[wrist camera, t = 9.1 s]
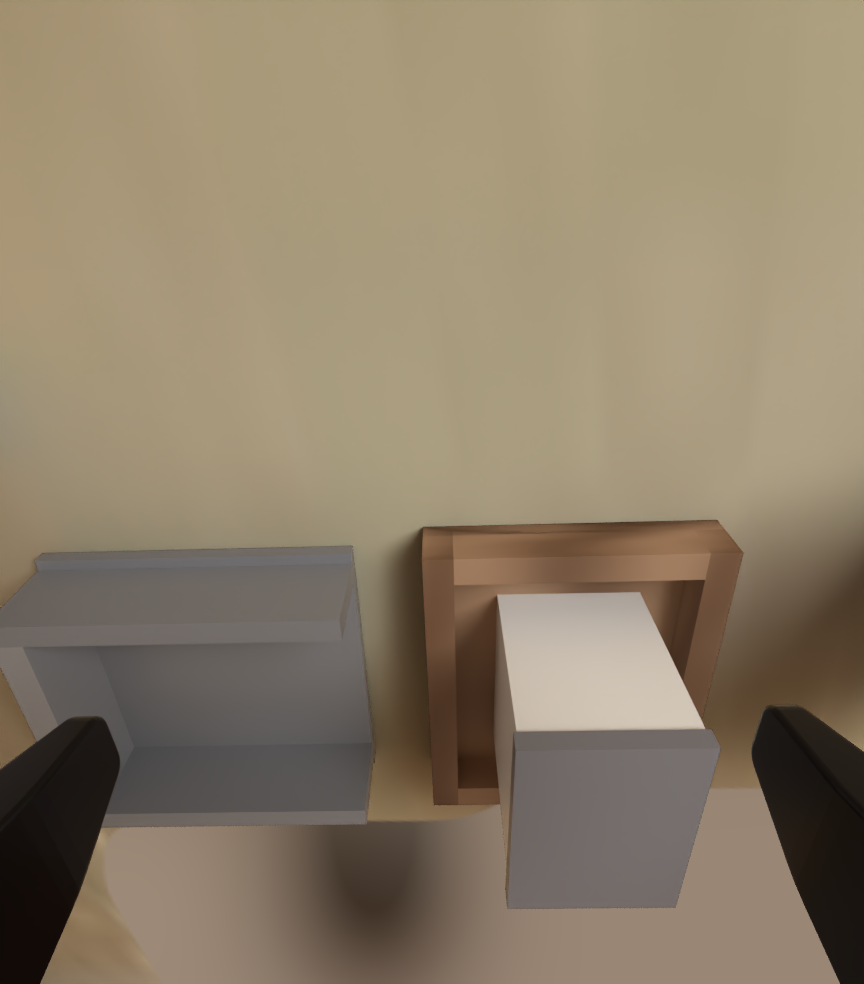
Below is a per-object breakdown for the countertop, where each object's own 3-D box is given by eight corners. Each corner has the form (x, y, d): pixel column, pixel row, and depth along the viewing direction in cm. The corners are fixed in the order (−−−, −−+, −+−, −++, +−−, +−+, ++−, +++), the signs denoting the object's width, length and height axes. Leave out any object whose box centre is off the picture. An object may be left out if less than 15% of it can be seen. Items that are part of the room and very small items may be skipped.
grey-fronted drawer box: (643, 589, 21) (720, 748, 15) (619, 733, 25) (675, 907, 19) (494, 592, 21) (516, 751, 15) (490, 734, 25) (507, 909, 19)
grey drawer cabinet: (352, 546, 21) (337, 609, 18) (375, 752, 26) (367, 830, 23) (42, 553, 21) (-24, 617, 18) (124, 756, 26) (82, 834, 23)
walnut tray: (717, 519, 21) (743, 552, 19) (665, 759, 26) (681, 801, 24) (423, 527, 21) (421, 560, 19) (434, 762, 26) (433, 805, 25)
